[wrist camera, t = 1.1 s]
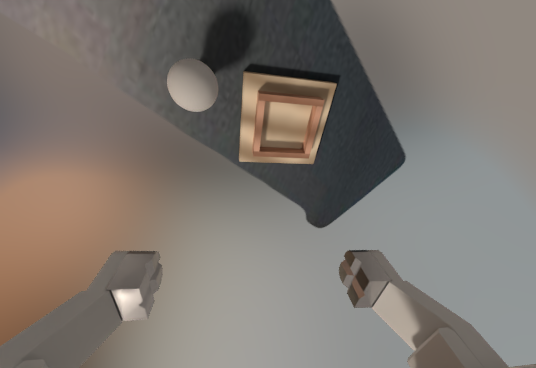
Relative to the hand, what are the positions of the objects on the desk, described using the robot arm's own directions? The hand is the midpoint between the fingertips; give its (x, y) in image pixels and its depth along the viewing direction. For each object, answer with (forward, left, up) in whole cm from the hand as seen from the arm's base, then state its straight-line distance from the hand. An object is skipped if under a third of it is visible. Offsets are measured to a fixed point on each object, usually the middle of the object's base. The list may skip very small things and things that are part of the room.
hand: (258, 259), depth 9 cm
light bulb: (-2, -5, -31) cm, 31 cm away
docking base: (+4, +9, -30) cm, 32 cm away
